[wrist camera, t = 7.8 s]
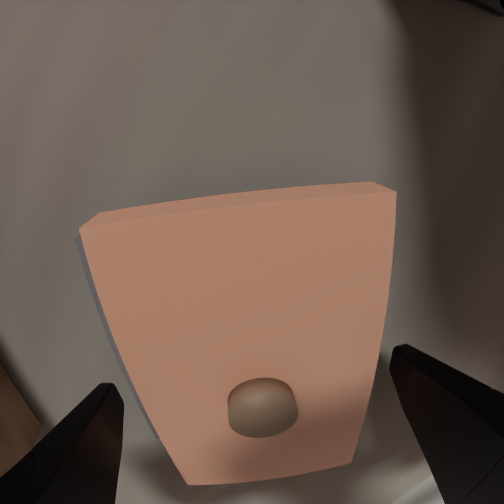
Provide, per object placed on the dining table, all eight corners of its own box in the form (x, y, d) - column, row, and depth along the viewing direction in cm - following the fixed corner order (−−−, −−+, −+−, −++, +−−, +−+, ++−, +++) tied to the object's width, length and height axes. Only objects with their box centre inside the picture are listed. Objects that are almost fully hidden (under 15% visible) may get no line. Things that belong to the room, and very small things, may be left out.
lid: (109, 204, 8) (64, 240, 5) (359, 176, 8) (414, 199, 5) (189, 447, 12) (187, 499, 9) (338, 428, 12) (355, 476, 9)
